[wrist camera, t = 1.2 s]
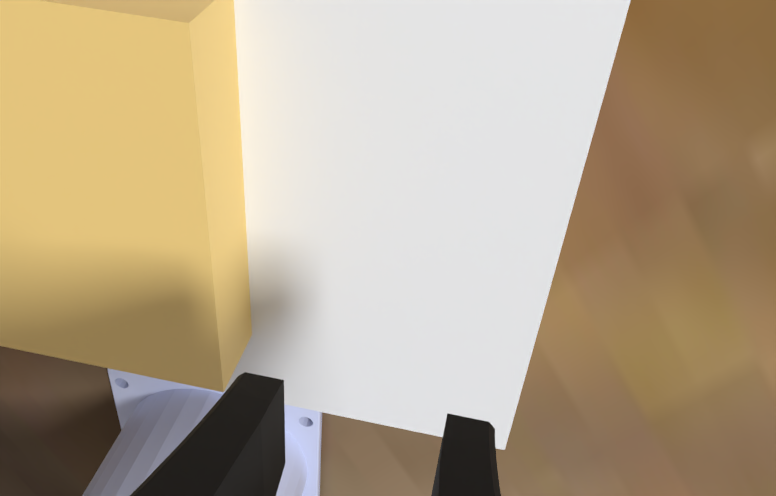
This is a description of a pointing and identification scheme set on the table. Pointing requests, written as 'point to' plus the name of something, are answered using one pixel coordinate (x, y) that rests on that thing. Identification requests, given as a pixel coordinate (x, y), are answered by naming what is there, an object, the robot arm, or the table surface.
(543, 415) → the table surface
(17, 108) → the yellow rectangular block
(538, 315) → the white box
